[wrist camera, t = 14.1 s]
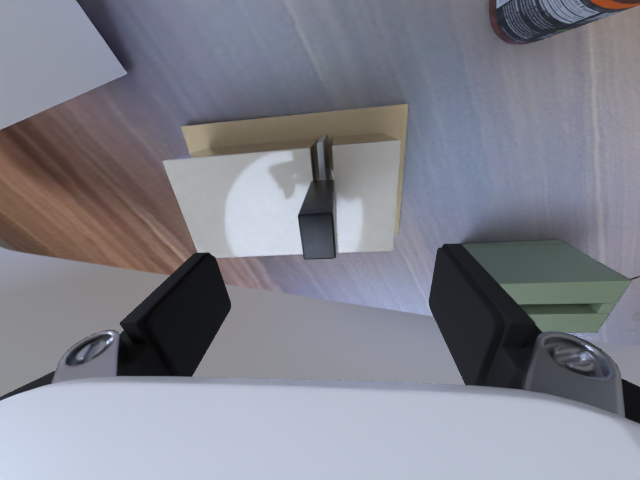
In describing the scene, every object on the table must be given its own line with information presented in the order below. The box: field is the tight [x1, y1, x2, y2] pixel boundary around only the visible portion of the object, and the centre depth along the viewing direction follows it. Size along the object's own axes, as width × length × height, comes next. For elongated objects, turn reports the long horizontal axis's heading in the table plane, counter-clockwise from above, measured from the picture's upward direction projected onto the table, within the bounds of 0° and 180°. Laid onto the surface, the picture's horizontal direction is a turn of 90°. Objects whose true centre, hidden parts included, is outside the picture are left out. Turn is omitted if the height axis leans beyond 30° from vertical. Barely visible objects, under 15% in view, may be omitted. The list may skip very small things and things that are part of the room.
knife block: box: [462, 240, 631, 333], centre depth 24 cm, size 10×6×7 cm, turn 95°
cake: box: [162, 104, 409, 258], centre depth 20 cm, size 12×20×8 cm, turn 95°
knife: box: [298, 134, 337, 259], centre depth 17 cm, size 7×2×13 cm, turn 5°
